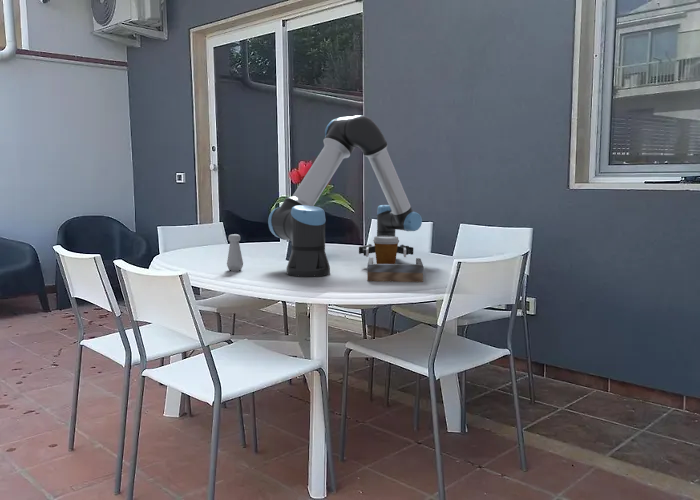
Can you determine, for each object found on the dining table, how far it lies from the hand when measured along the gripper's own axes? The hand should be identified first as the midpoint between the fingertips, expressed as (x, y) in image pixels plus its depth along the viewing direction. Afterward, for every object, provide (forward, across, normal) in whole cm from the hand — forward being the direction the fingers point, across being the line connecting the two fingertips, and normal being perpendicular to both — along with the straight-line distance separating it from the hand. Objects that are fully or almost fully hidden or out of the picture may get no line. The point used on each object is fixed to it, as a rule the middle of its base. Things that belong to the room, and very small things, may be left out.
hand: (386, 253), depth 215 cm
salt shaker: (+4, +54, -7) cm, 55 cm away
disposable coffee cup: (-3, 0, -7) cm, 7 cm away
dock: (+13, -3, -6) cm, 15 cm away
